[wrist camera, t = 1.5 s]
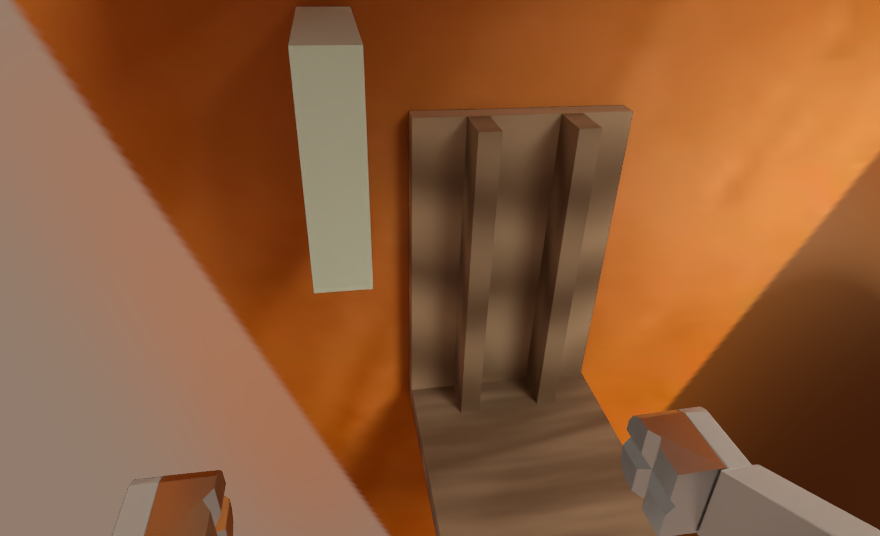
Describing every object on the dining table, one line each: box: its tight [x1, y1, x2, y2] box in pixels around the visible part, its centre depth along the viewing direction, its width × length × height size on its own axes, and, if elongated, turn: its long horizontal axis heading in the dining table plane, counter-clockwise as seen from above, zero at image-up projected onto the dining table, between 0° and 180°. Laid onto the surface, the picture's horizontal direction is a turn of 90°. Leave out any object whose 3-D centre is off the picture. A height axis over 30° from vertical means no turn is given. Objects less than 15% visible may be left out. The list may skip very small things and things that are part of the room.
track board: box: [409, 105, 657, 536], centre depth 31 cm, size 20×12×14 cm, turn 178°
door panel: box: [288, 6, 373, 293], centre depth 26 cm, size 10×2×9 cm, turn 178°
